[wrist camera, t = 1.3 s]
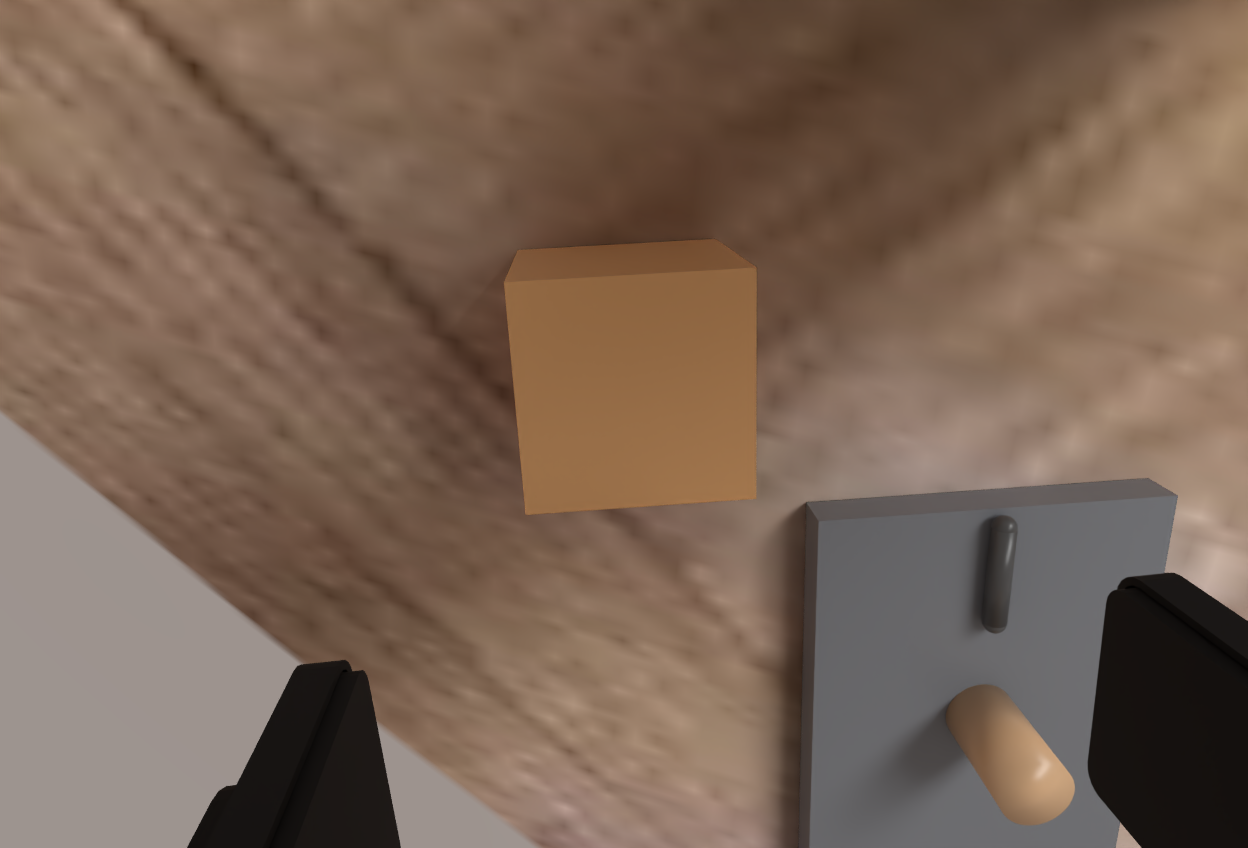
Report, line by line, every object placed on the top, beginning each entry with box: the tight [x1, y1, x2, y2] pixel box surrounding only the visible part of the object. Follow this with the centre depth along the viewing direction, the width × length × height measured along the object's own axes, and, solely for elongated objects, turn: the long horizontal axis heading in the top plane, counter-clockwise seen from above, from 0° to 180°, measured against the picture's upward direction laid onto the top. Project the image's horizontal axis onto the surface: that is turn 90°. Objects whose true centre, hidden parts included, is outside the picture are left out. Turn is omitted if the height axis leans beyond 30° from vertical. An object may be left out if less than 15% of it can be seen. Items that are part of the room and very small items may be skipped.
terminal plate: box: [798, 478, 1178, 848], centre depth 29 cm, size 16×12×6 cm
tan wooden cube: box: [504, 239, 757, 515], centre depth 24 cm, size 6×6×6 cm
